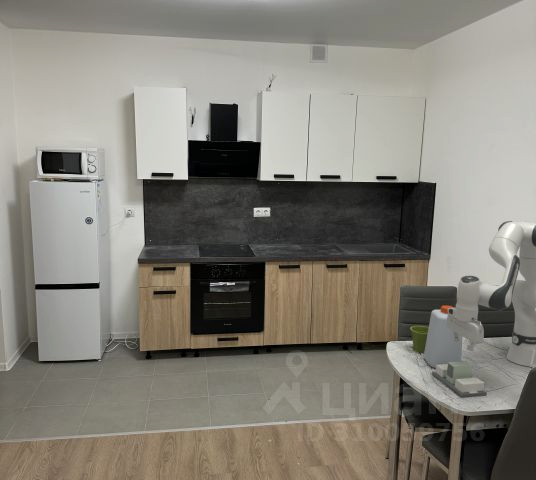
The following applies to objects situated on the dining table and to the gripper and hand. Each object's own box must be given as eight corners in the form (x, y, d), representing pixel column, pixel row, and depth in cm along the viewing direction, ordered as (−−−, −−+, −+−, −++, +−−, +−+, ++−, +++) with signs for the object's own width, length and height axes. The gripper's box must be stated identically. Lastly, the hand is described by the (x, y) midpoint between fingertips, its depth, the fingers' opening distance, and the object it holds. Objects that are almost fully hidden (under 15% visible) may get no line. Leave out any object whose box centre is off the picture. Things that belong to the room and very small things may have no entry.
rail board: (455, 373, 216) (456, 362, 216) (486, 395, 196) (487, 383, 195) (431, 374, 214) (433, 364, 213) (461, 397, 193) (462, 385, 193)
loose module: (464, 378, 208) (466, 360, 207) (470, 382, 204) (472, 365, 202) (445, 379, 206) (447, 362, 204) (451, 384, 201) (453, 366, 200)
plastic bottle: (431, 369, 219) (437, 311, 214) (421, 356, 234) (426, 301, 229) (463, 371, 219) (470, 313, 214) (451, 357, 234) (457, 303, 229)
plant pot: (430, 347, 246) (432, 326, 244) (434, 356, 235) (437, 334, 233) (406, 345, 248) (408, 324, 246) (410, 354, 236) (412, 332, 234)
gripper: (489, 322, 190) (485, 355, 193) (457, 306, 210) (455, 336, 212) (475, 323, 189) (472, 356, 191) (445, 307, 208) (442, 337, 211)
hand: (463, 345), depth 202 cm, fingers open, 8 cm apart
